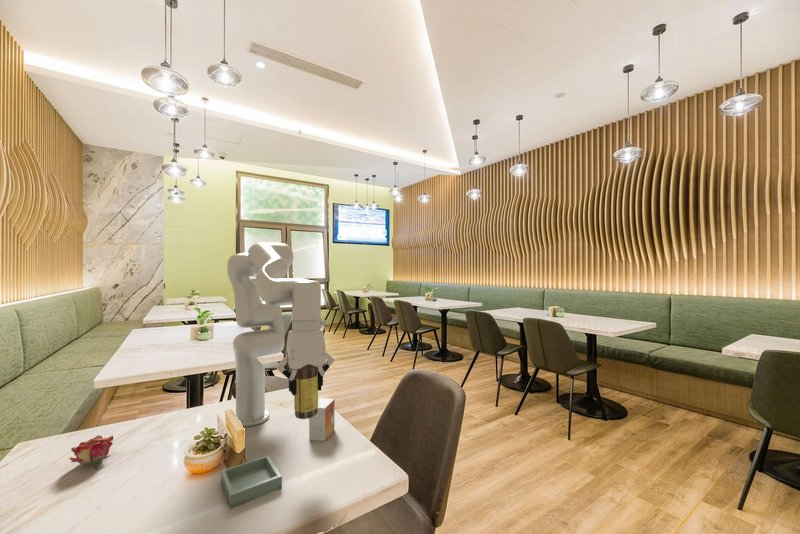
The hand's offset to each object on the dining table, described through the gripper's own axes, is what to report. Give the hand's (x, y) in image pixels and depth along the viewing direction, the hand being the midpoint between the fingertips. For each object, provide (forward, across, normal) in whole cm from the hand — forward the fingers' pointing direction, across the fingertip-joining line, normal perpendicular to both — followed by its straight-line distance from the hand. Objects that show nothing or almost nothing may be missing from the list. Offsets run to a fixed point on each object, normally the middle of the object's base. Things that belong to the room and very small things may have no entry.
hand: (306, 390), depth 91 cm
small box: (+22, -9, -16) cm, 28 cm away
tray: (+21, +14, 0) cm, 25 cm away
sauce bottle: (+7, 0, 0) cm, 7 cm away
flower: (+22, +51, -31) cm, 64 cm away
